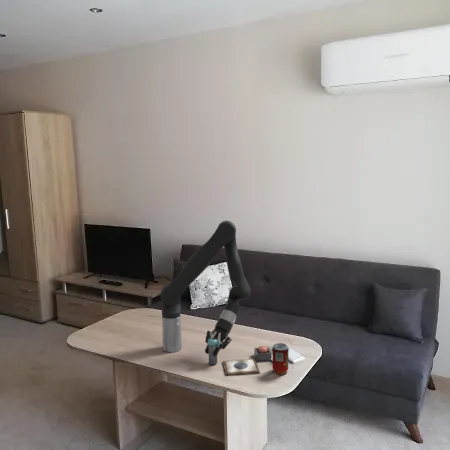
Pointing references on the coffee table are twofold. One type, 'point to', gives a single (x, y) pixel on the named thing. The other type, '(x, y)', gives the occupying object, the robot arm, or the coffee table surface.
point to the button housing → (262, 355)
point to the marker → (212, 350)
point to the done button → (262, 349)
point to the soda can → (280, 358)
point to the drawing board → (240, 367)
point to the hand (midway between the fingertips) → (210, 354)
